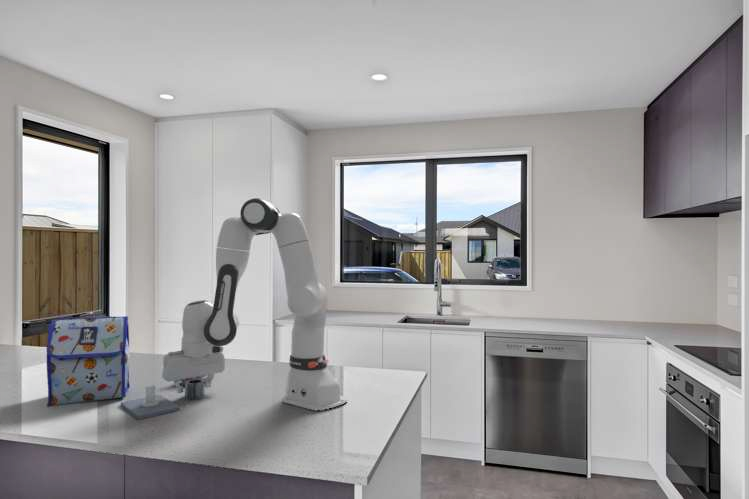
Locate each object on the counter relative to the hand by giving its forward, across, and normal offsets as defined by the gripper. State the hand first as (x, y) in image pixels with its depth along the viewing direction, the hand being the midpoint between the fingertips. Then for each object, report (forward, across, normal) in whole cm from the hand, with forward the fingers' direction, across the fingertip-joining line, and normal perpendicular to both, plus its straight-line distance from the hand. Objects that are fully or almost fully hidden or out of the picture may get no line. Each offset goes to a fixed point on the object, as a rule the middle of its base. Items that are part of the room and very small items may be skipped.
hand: (194, 389), depth 154 cm
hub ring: (+2, 0, 0) cm, 2 cm away
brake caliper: (+2, +7, +16) cm, 17 cm away
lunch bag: (+3, -26, +20) cm, 33 cm away
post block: (+2, -15, -2) cm, 15 cm away
